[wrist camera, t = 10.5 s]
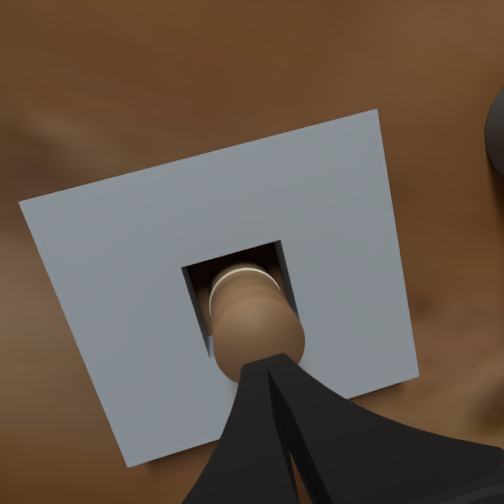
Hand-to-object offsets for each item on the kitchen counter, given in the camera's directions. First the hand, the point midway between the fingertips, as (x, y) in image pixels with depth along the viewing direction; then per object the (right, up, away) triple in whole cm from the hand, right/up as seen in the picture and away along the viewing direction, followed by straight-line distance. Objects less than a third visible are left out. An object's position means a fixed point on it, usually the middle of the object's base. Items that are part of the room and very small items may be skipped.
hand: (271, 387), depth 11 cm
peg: (-1, +2, +10) cm, 10 cm away
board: (-1, +2, +9) cm, 10 cm away
